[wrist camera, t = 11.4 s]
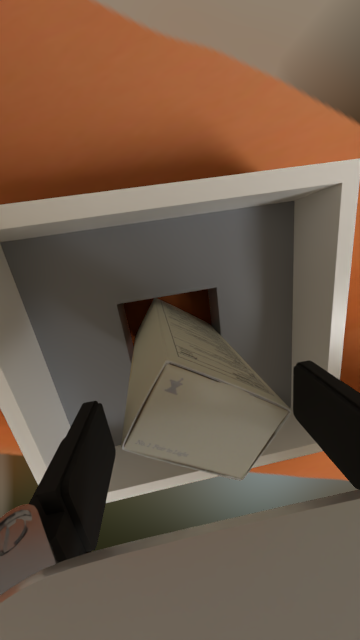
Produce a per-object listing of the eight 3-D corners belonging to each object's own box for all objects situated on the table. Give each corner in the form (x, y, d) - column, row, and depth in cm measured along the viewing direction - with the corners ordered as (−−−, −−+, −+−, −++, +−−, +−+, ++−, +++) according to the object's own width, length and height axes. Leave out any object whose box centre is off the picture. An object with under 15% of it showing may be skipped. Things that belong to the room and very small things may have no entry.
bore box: (283, 194, 18) (361, 158, 11) (282, 394, 24) (332, 448, 17) (7, 232, 16) (-95, 216, 9) (82, 437, 22) (53, 515, 16)
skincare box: (134, 336, 20) (110, 451, 8) (155, 294, 19) (161, 355, 7) (192, 361, 21) (241, 488, 10) (214, 323, 20) (297, 412, 9)
